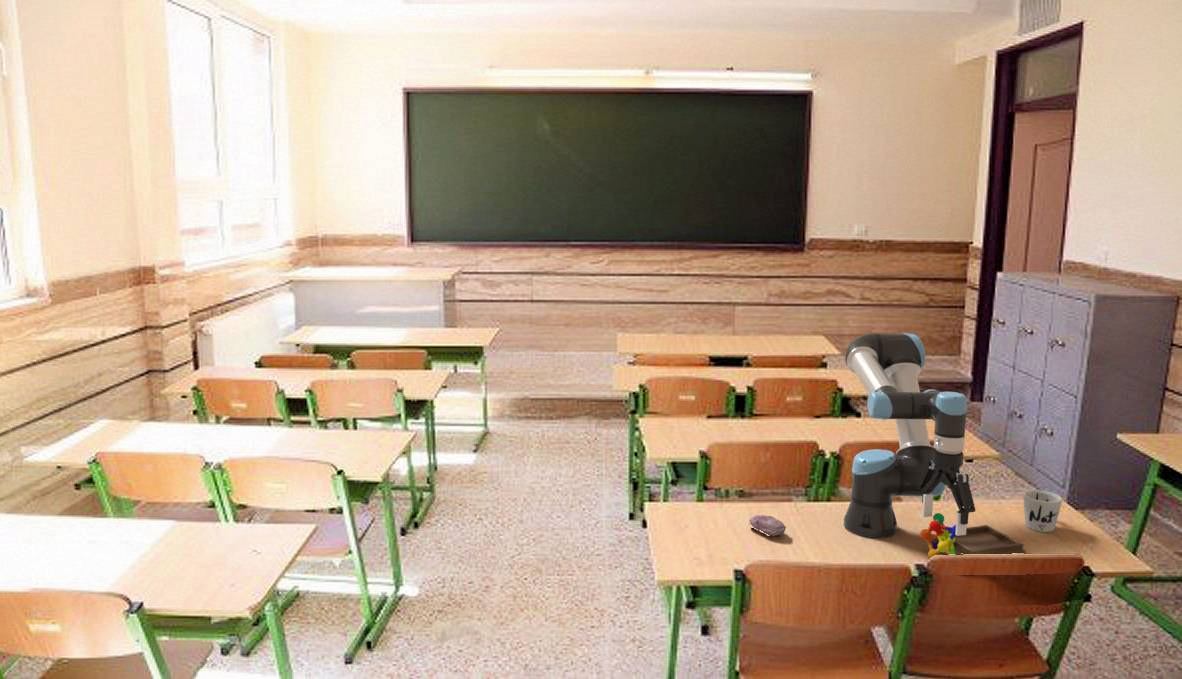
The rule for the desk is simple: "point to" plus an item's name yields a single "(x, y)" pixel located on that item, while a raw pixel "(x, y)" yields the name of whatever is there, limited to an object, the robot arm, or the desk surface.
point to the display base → (985, 542)
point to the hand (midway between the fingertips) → (943, 525)
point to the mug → (1041, 510)
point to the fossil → (768, 525)
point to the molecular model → (939, 536)
